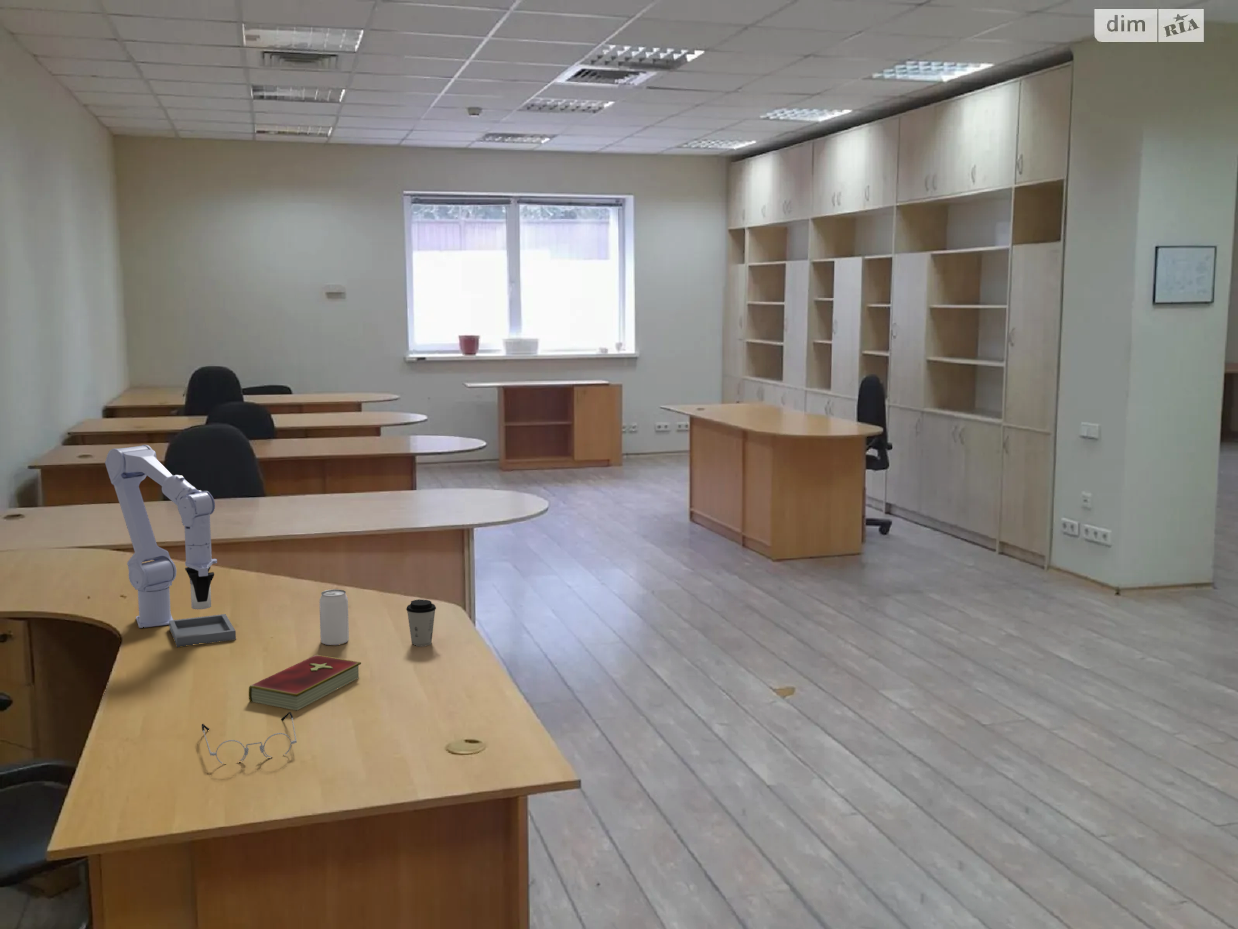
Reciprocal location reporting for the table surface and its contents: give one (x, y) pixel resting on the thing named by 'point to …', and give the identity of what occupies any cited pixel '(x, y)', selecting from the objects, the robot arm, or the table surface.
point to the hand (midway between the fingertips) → (200, 598)
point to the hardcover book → (304, 682)
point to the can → (334, 617)
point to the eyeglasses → (252, 743)
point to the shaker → (199, 604)
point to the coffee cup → (421, 621)
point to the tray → (202, 630)
